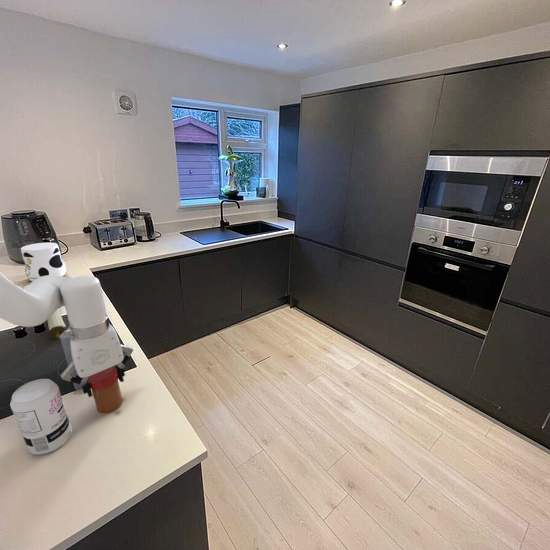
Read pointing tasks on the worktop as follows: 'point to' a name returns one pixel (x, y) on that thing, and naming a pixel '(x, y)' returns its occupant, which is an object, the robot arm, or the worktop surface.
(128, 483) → the worktop surface
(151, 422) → the worktop surface
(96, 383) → the jam lid
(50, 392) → the supplement can
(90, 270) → the worktop surface
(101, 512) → the worktop surface
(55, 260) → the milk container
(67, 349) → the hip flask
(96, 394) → the jam jar
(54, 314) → the rolling pin
